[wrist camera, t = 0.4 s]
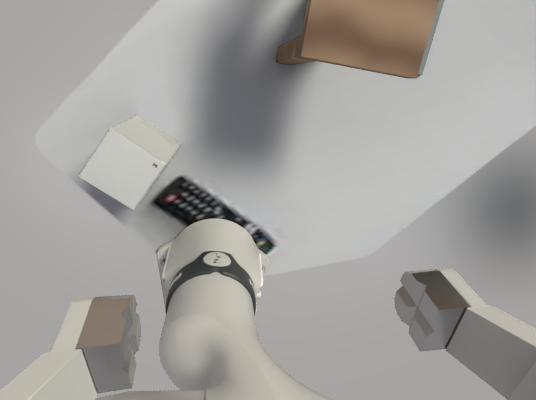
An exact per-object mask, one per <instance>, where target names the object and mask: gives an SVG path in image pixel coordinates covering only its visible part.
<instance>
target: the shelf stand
mask: <svg viewBox="0 0 536 400" xmlns="http://www.w3.org/2000/svg"><path fill="white" fill-rule="evenodd" d="M438 3H439V0H307V5H306V10H305V16H304V22H303V27H302V33H301V36H299V37H297V38H295V39H293V40H291V41H289V42H287V43H286V44H284V45H282V46H280V47H279V48H278V54H277V60H276V62H277V63H283V64H288V65H292V64H299V63H305V62H311V61H320V62H325V63H330V64H336V65H341V66H346V67H351V68H356V69H362V70H367V71H372V72H377V73H382V74H388V75H393V76H398V77H403V78H417V75H418V72H419V68H420V65H421V61H422V58H423V55H424V51H425V48H426V44H427V41H428V38H429V34H430V31H431V27H432V24H433V20H434V17H435V14H436V10H437V7H438Z"/></svg>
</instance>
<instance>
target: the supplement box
mask: <svg viewBox="0 0 536 400" xmlns="http://www.w3.org/2000/svg"><path fill="white" fill-rule="evenodd" d="M180 145H181V144H180V143H179V142H177V141H176V140H174V139H173V138H172V137H170V136H169V135H167V134H166V133H165V132H163V131H162V130H160V129H159V128H157V127H156V126H155V125H153V124H152V123H150V122H149V121H148V120H146V119H145V118H143V117H142V116H141V115H137V116H134V117H132V118H130V119H128V120H126V121H124V122H122V123H120V124H118V125H116V126H114V127H111V128H110V129H109V130H108V132H107V133H106V134H105V136H104V137H103V139H102V140H101V142H100V143H99V145H98V147H97V148H96V150H95V151H94V153H93V154H92V156H91V157H90V159H89V161H88V162H87V164H86V165H85V167H84V168H83V170H82V172H81V173H80V175H79V178H81V179H83V180H84V181H86V182H88V183H89V184H91V185H93V186H94V187H96V188H98V189H99V190H101V191H103V192H104V193H106V194H107V195H109V196H110V197H112V198H114V199H115V200H117V201H118V202H120V203H121V204H123V205H124V206H126V207H128V208H129V209H131V210H135V209H136V207H137V206H138V205H139V204H140V202H141V201H142V200H143V198H144V197H145V196H146V194H147V193H148V192H149V190H150V189H151V188H152V186H153V185H154V183H155V182H156V181H157V179H158V178H159V176H160V175H161V174H162V172H163V171H164V169H165V168H166V166H167V165H168V163H169V162H170V160H171V159H172V158H173V156H174V154H175V153H176V151H177V150H178V148H179V147H180Z"/></svg>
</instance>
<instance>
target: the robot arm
mask: <svg viewBox="0 0 536 400" xmlns="http://www.w3.org/2000/svg"><path fill="white" fill-rule="evenodd" d="M157 259H158V265H159V271H160V277H161V284H162V290H163V296H164V303H165V309H166V318H165V322H164V326H163V330H162V334H161V338H160V343H159V356H160V360H161V363H162V366H163V368H164V370H165V371H166V373H167V375H168V376H169V378H170V379H171V381H172V382H173V383H174V384H175V385H176V386H177V387H178V388H180V389H181V390H179V391H178V390H177V391H130V392H129V391H128V392H123V393H119V394H114V395H109V396H105V397H100V398H96V397H97V396H98V395H97V393H103V392H110V391H116V390H122V389H129V388H132V386H133V380H134V374H135V369H136V361H135V357H134V354H135V353H136V352H137V351H138V350H139V345H140V337H141V324H140V317H139V315H138V314H137V313H135V311H136V306H137V303H136V299H135V296H134V295H121V296H105V297H95V298H78V299H74V301H73V302H72V303H71V304H70V306H69V309H68V311H67V314H66V316H65V319H64V321H63V323H62V325H61V328H60V330H59V333H58V335H57V337H56V340H55V342H54V345H53V347H52V349H51V352H48V353H43V354H42V355H41V356H40V357H39V358H37V359H36V360H35V361H34V362H33V363H32V364H31V365H29V366H28V367H27V368H26V369H25V370H24V371H22V372H21V373H20V374H19V375H18V376H17V377H16V378H14V379H13V380H12V381H11V382H10V383H9V384H7V385H6V386H5V387H4V388H3V389H2V390H0V400H332V399H330V398H329V397H327V396H325V395H323V394H320V393H318V392H316V391H314V390H312V389H310V388H309V387H307V386H305V385H304V384H302V383H301V382H299V381H297V380H296V379H295V378H293V377H292V376H291V375H290V374H288V373H287V372H286V371H285V370H283V369H282V367H281V366H279V365H278V364H277V363H276V361H275V360H274V359H273V358H272V357H271V356H270V355H269V353H268V352H267V351H266V350H265V348H264V347H263V345H262V343H261V341H260V339H259V335H258V331H257V327H256V322H255V315H256V311H257V304H256V299H258V300H259V299H260V297H261V291H259V289H260V287H262V286H263V279H264V277H265V275H266V272H267V270H268V267H269V265H270V260H269V258H268V256H267V255H266V254H265V253H263V252H262V251H261V250H259V249H258V248H257V246H256V244H255V242H254V240H253V239H252V237H251V236H250V234H249V233H248V232H247V231H246V230H245V229H244V228H242V227H241V226H239V225H238V224H236V223H234V222H231V221H228V220H224V219H205V220H201V221H198V222H195V223H193V224H191V225H190V226H188V227H187V228H185V229H184V230H183V231H182V232H181V233H180V234H179V235H178V236H177V237H176V238H175V239H174V240H173V241H171V242H169V243H166V244H164V245H163V246H161V247H160V248H159V249H158V251H157ZM164 259H166V261H164ZM400 281H401V283H402V285H403V286H402V287H401V288H400V289H399V290H398V291H397V292H396V296H395V308H396V311H397V314H398V316H399V317H400V319H401V321H403V322H404V323H406V324H407V325H409V326H410V327H409V334H410V336H411V337H412V339H413V340H414V342H415V344H416V345H417V347H418V348H419V350H420V351H430V350H440V349H446V351H447V352H448V353H450V354H451V355H452V356H453V357H455V358H456V359H457V360H458V361H460V362H461V363H462V364H464V365H465V366H466V367H467V368H468V369H470V370H471V371H472V372H474V373H475V374H476V375H478V376H479V377H480V378H481V379H482V380H484V381H485V382H486V383H487V384H489V385H490V386H491V387H492V388H494V389H495V390H496V391H497V392H499V393H500V394H501V395H503V396H504V397H505V398H506V399H507V400H536V329H535V328H533V327H532V326H530V325H528V324H526V323H524V322H522V321H520V320H518V319H516V318H514V317H512V316H511V315H509V314H507V313H505V312H503V311H501V310H499V309H497V308H495V307H494V306H487V305H486V304H485V303H484V302H483V301H482V300H481V299H480V297H479V296H478V295H476V293H475V292H474V291H473V290H472V289H471V288H470V287H469V285H467V283H466V282H465V281H464V280H463V279H462V278H461V277H460V276H459V275H458V273H456V271H455V270H453V269H451V268H441V269H430V270H419V271H409V272H405V273H404V274H403V275H402V278H401V280H400ZM95 398H96V399H95Z"/></svg>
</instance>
